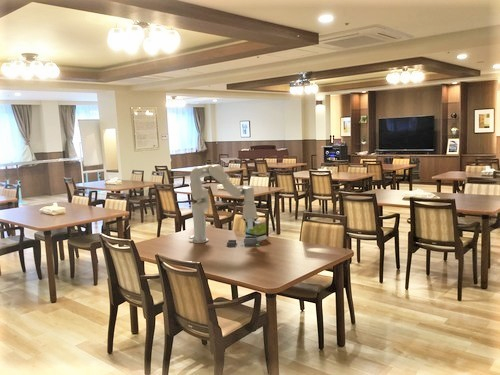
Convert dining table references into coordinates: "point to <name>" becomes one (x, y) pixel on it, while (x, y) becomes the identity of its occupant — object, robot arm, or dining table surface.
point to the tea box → (257, 230)
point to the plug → (250, 223)
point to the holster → (231, 243)
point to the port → (250, 241)
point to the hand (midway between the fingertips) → (250, 226)
